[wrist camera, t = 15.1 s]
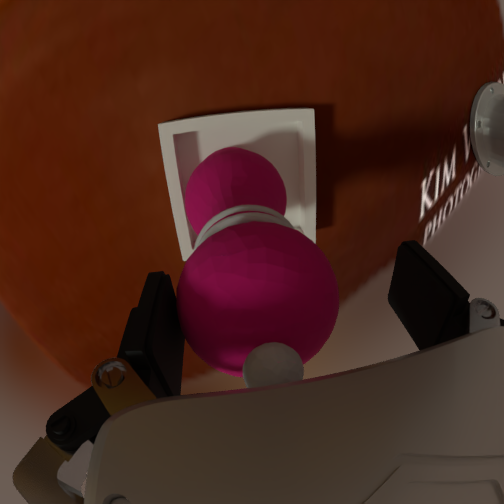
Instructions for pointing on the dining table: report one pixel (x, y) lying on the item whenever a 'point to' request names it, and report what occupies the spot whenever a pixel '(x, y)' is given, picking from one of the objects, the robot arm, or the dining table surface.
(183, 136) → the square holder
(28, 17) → the dining table surface
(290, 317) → the pepper mill
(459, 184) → the dining table surface
